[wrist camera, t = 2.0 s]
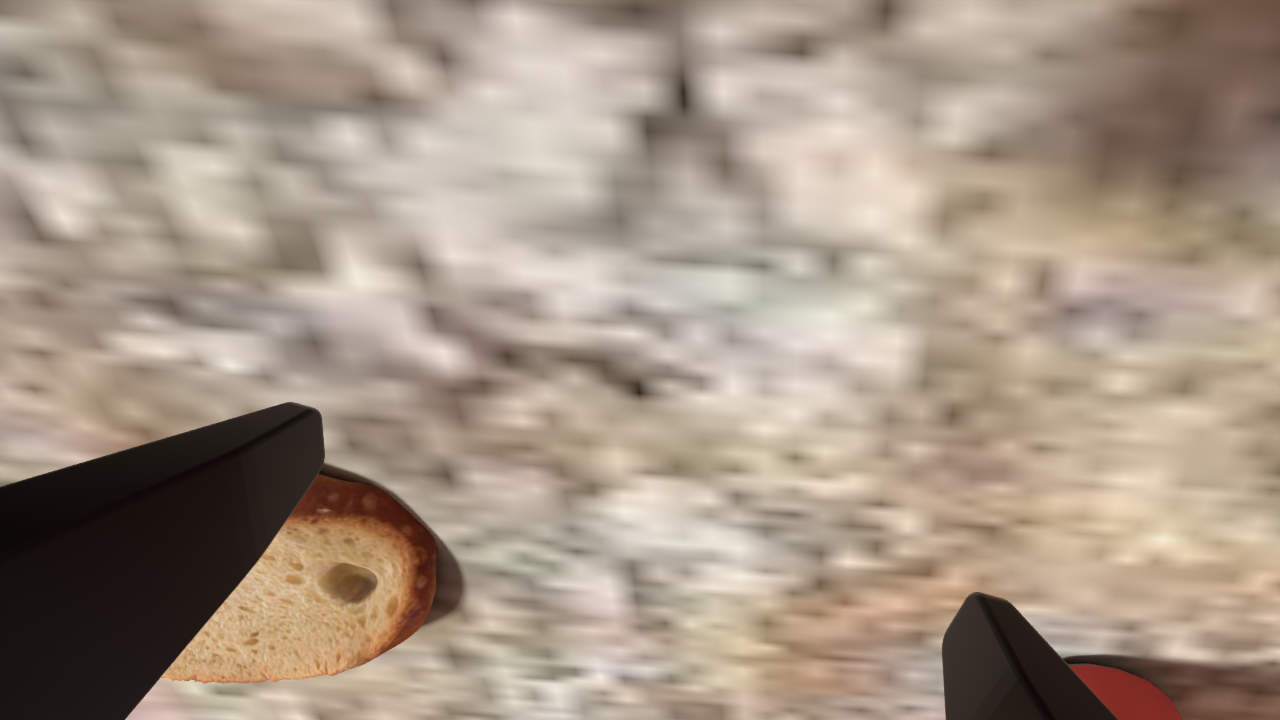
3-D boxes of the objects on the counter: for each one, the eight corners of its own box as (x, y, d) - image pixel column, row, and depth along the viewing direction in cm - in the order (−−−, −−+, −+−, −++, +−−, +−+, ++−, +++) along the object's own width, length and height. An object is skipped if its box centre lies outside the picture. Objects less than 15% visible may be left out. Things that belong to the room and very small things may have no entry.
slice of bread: (114, 617, 37) (50, 675, 33) (71, 360, 28) (-23, 406, 24) (408, 732, 36) (372, 803, 33) (461, 511, 27) (418, 578, 24)
